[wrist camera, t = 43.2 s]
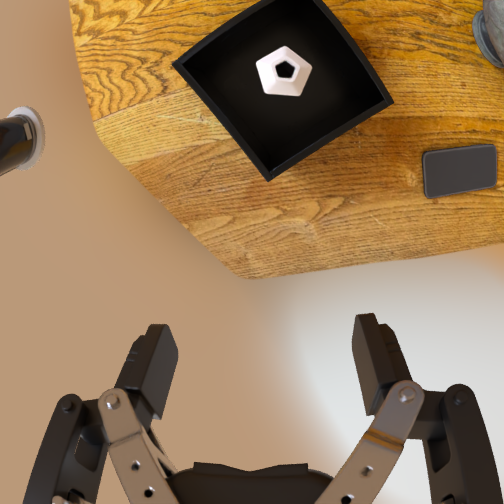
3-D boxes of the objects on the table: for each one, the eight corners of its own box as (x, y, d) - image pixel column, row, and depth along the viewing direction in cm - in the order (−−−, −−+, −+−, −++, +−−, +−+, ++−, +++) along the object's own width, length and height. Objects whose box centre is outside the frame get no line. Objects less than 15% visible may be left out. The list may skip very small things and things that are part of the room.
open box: (268, 161, 38) (267, 182, 29) (194, 70, 32) (170, 64, 24) (365, 99, 33) (394, 102, 24) (294, 4, 27) (301, -22, 18)
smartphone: (422, 152, 34) (496, 143, 31) (419, 150, 35) (493, 142, 32) (425, 200, 38) (497, 187, 35) (423, 198, 39) (494, 185, 36)
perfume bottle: (302, 93, 32) (324, 91, 19) (268, 100, 33) (267, 103, 20) (293, 59, 30) (308, 36, 17) (258, 66, 31) (250, 48, 18)
